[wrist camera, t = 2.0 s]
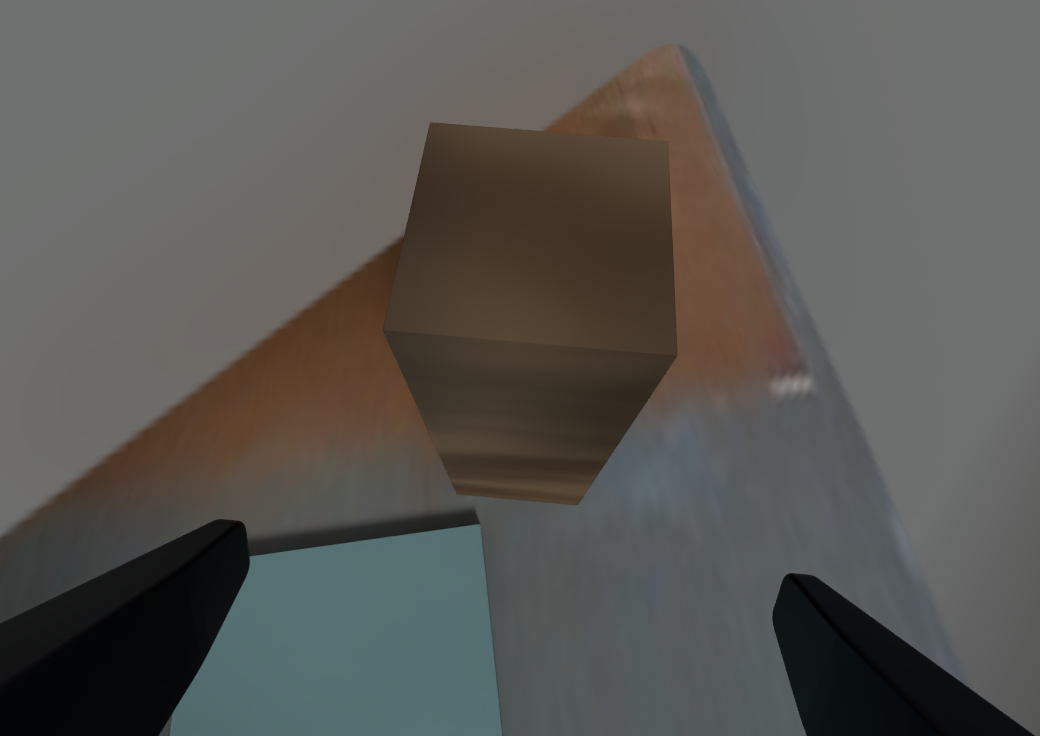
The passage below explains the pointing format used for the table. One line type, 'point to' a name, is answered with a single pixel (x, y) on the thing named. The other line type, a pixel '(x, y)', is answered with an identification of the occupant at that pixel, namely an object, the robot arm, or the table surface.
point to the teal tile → (354, 644)
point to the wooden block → (534, 303)
